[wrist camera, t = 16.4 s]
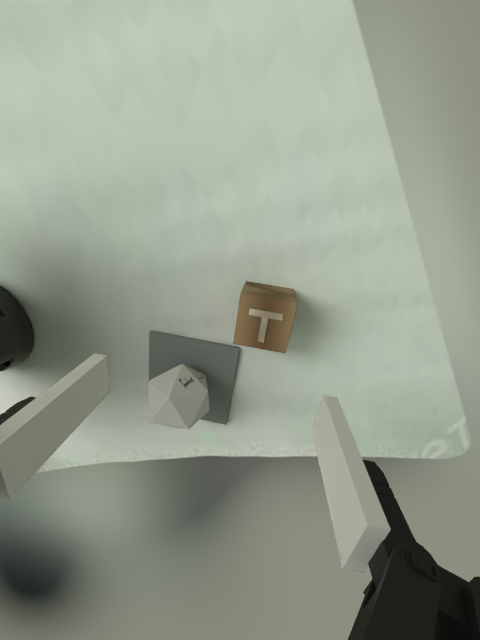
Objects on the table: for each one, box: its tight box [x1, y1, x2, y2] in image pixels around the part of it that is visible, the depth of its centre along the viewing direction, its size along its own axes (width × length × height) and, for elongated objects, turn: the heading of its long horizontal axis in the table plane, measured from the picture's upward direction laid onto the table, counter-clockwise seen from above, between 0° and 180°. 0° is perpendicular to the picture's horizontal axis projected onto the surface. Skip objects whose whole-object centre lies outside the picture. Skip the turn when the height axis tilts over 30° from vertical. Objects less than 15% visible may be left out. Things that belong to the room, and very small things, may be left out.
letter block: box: [233, 281, 298, 353], centre depth 29 cm, size 6×6×6 cm
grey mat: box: [149, 331, 239, 425], centre depth 37 cm, size 13×14×1 cm
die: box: [147, 364, 210, 429], centre depth 34 cm, size 8×9×10 cm
